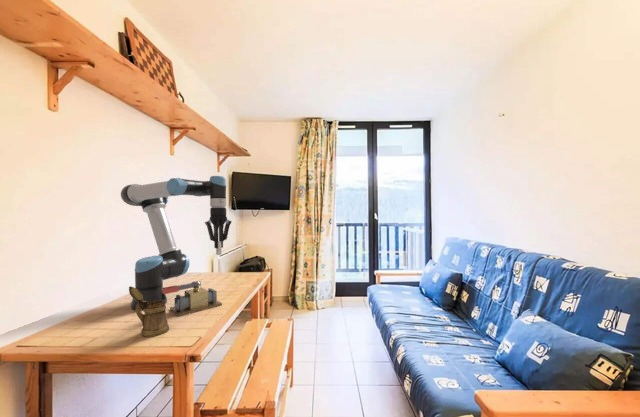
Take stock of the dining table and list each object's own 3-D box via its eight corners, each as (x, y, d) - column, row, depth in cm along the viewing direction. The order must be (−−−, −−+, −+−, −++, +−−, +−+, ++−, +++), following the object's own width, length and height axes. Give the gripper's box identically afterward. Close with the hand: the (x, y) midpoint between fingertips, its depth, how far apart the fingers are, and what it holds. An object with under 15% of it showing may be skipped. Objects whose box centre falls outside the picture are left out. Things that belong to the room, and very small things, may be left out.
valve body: (169, 309, 130) (169, 288, 130) (211, 299, 144) (211, 280, 144) (178, 316, 121) (177, 293, 121) (222, 305, 135) (221, 284, 135)
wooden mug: (134, 329, 109) (134, 283, 109) (172, 325, 111) (171, 281, 112) (123, 339, 100) (123, 289, 100) (164, 335, 103) (164, 286, 103)
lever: (198, 285, 135) (198, 280, 135) (202, 286, 133) (202, 281, 133) (161, 292, 123) (161, 287, 123) (164, 294, 120) (164, 289, 120)
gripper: (208, 207, 130) (208, 257, 130) (234, 207, 139) (234, 253, 139) (202, 207, 136) (202, 255, 136) (227, 207, 145) (227, 252, 145)
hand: (218, 254), depth 137 cm, fingers closed
